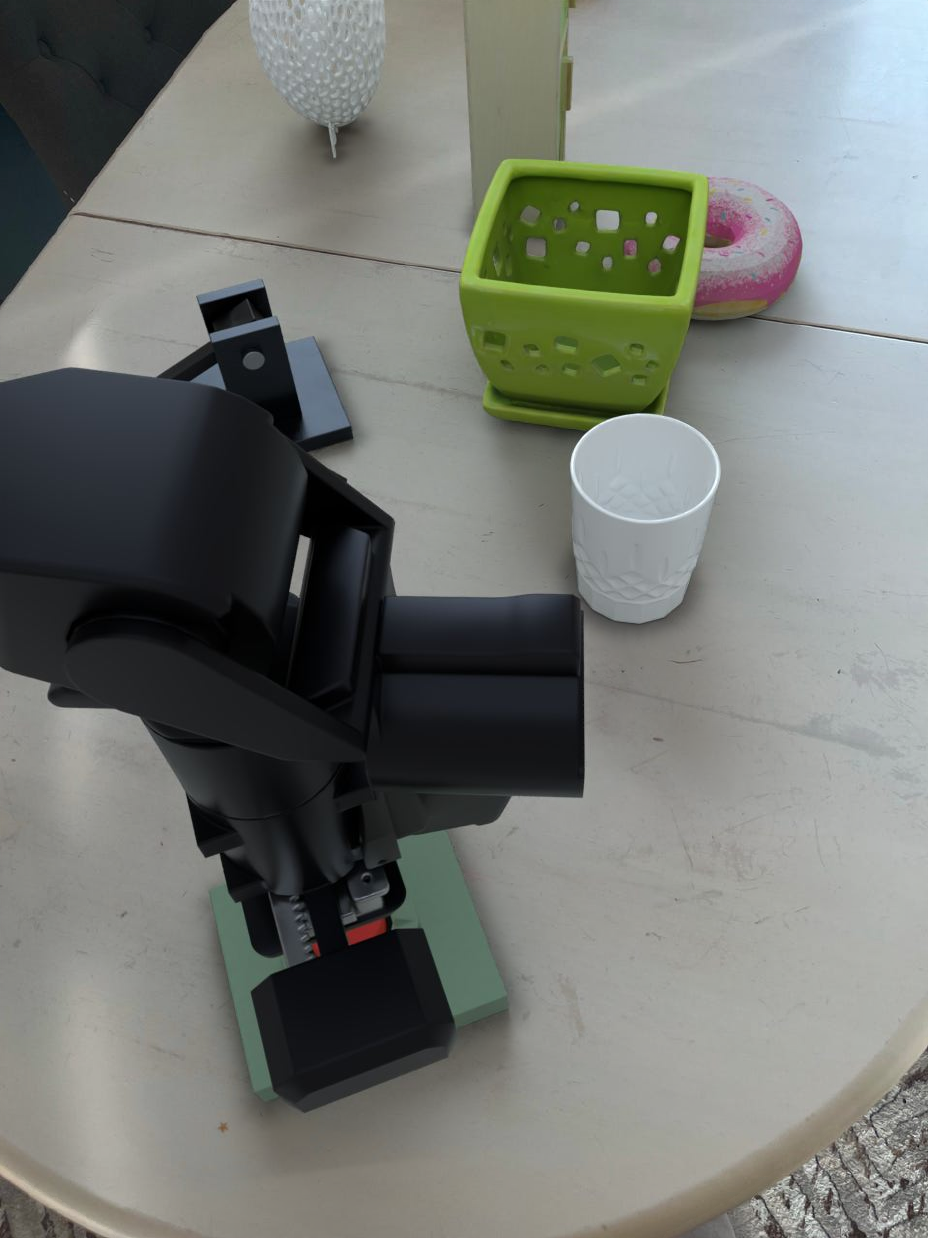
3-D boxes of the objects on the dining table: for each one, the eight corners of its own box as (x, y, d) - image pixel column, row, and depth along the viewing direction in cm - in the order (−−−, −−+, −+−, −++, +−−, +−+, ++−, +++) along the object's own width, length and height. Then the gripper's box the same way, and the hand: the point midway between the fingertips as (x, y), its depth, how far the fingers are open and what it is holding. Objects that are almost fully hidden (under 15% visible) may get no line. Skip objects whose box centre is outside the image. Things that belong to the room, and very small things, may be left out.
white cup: (633, 656, 61) (648, 548, 53) (539, 577, 65) (539, 464, 57) (725, 580, 64) (752, 466, 56) (629, 509, 67) (641, 392, 59)
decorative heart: (290, 75, 100) (249, -134, 86) (402, 70, 100) (379, -141, 86) (264, 187, 90) (214, -29, 76) (389, 182, 89) (361, -37, 75)
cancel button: (320, 981, 48) (314, 969, 47) (300, 908, 50) (293, 895, 48) (396, 953, 48) (391, 940, 47) (373, 882, 50) (368, 868, 49)
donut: (631, 344, 76) (637, 287, 72) (600, 232, 84) (603, 174, 80) (817, 324, 76) (833, 266, 72) (769, 214, 84) (781, 155, 80)
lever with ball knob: (97, 465, 71) (68, 442, 69) (91, 438, 73) (62, 414, 71) (278, 347, 69) (254, 319, 67) (268, 321, 70) (244, 293, 68)
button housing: (263, 1103, 49) (244, 1084, 45) (218, 904, 54) (198, 874, 51) (508, 1009, 50) (506, 984, 47) (441, 825, 56) (434, 792, 53)
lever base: (211, 480, 71) (174, 381, 64) (183, 385, 77) (146, 283, 69) (354, 438, 72) (333, 337, 65) (316, 347, 78) (293, 245, 71)
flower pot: (670, 467, 69) (693, 310, 59) (462, 442, 72) (449, 286, 61) (692, 326, 77) (716, 165, 66) (504, 307, 79) (498, 149, 69)
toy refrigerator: (565, 236, 84) (571, -53, 67) (473, 232, 85) (456, -54, 68) (574, 178, 88) (583, -108, 71) (487, 174, 89) (474, -108, 72)
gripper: (612, 918, 30) (590, 1050, 43) (411, 467, 40) (441, 681, 53) (229, 1063, 28) (324, 1154, 41) (121, 553, 39) (224, 753, 51)
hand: (336, 907), depth 47 cm, fingers closed
